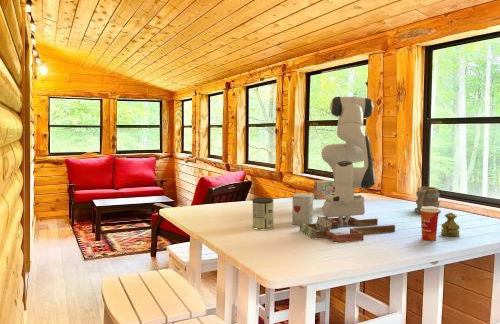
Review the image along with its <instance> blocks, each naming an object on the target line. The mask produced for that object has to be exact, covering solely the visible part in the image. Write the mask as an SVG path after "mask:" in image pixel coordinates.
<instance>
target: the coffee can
mask: <svg viewBox="0 0 500 324" xmlns="http://www.w3.org/2000/svg"><path fill="white" fill-rule="evenodd" d="M251 201H252V228H253V227H254V228H257V229H270V230H272V228H273V229H274V199H273V198H271V197H257V198H252V200H251ZM254 228H253V229H254Z"/></svg>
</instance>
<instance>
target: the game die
mask: <svg viewBox="0 0 500 324" xmlns="http://www.w3.org/2000/svg"><path fill="white" fill-rule="evenodd" d="M316 217H317V220H316V222H315V223H316V225H314V226H316V227H317V229H318V230H317V231H330V232H331V230H332V229H331V227H332V224H334V223H332V222H331V221H330V219H329V218H330V217H329V218H328V217H325V216H319V215H317V216H316Z"/></svg>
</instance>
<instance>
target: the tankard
mask: <svg viewBox="0 0 500 324" xmlns="http://www.w3.org/2000/svg"><path fill="white" fill-rule="evenodd" d="M415 193H416V194H415V195H416V197H417V199H416V200H415V204H416V205H417V207H415V208H414V212H415V213H417V214H421V210H420V209H421V207H422V206H424V207H425V206H433V207H437V208H438V210H439V212H438V215H439V214H441V209H440V208H439V206H440V201H439V198H440V196H441V193H440V192H439V188H438V187H434V186H419V187H417V191H415Z"/></svg>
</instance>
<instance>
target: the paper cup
mask: <svg viewBox="0 0 500 324" xmlns="http://www.w3.org/2000/svg"><path fill="white" fill-rule="evenodd" d="M438 209H439V207H438V208H437V207H433V206H425V207H424V206H422V207H421V209H420V210H421V213H420V223H421V239H422V240H424V241H429V242H435V241H436V240H437V232H438V223H439V221H438V220H439V214H438V212H439V210H440V209H439V210H438Z"/></svg>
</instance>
